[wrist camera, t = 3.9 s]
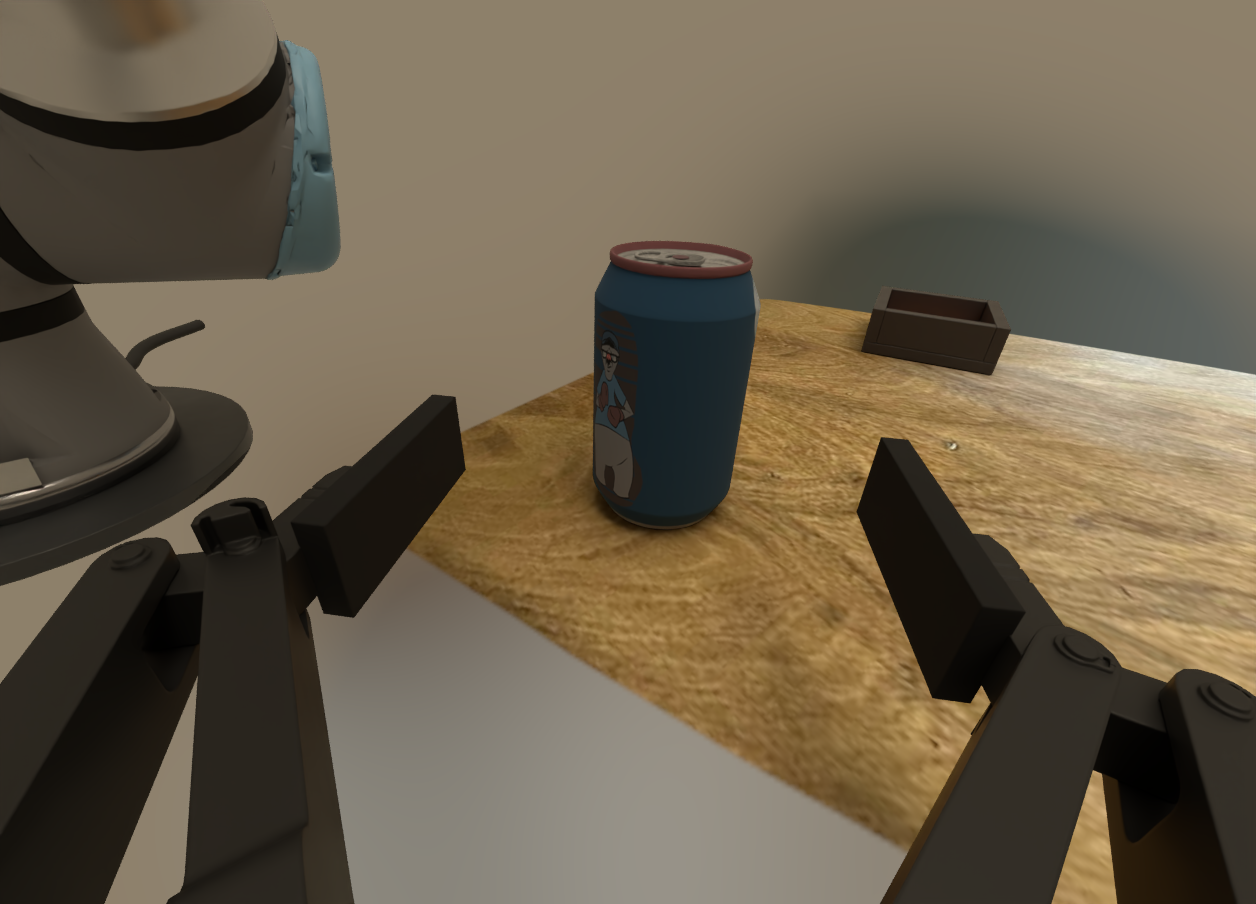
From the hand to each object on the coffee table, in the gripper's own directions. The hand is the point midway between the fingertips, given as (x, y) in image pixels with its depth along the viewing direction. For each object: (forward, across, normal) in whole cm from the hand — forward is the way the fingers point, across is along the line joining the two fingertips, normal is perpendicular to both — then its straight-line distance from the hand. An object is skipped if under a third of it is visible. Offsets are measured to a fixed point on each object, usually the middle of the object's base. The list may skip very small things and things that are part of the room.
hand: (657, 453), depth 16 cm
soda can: (+8, 0, -8) cm, 11 cm away
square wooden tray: (+38, +23, -7) cm, 45 cm away
